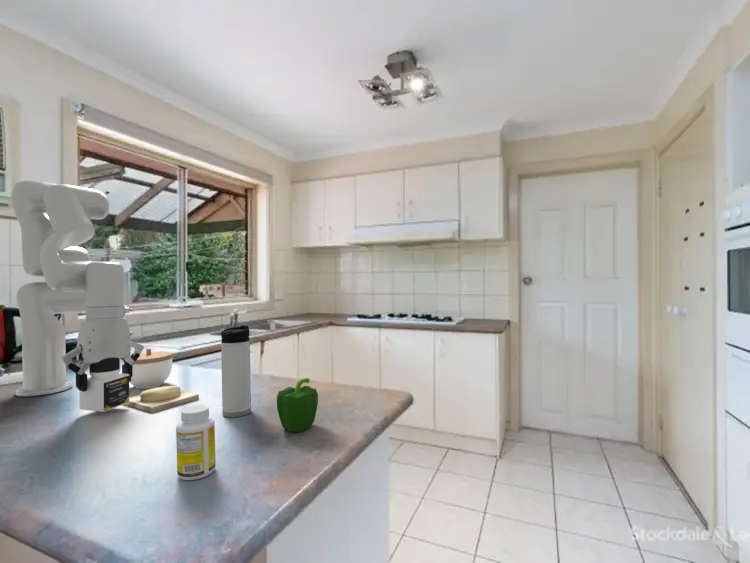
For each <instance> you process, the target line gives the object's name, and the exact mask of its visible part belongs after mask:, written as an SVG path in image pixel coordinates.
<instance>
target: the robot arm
mask: <svg viewBox="0 0 750 563" xmlns="http://www.w3.org/2000/svg"><path fill="white" fill-rule="evenodd" d="M11 205H12V208H13V212H14V214H15V217H16V219H17V221H18V223H19V227H20V232H21V254H22V256H21V259H22V266H23V269H24V272H25V273H26V275H28V276H31V277H37V278H44V281H32V282H28V283H25V284H23V285H21V286H20V287H19V289H18V290H17V292H16V302H17V307H18V310H19V315H20V316H19V318H20V323H21V351H22V353H21V354H22V355H21V356H22V357H21V358H22V361H21V362H22V387H20V388H17V389H16V390H15V395H16V396H17V397H36V396H44V395H49V394H55V393H60V392H63V391H67V390H69V389H71V388H72V387H73V385H74V384H73V383H74V382H72V381H69V380H67V369H68V370H70V371H71V372H73V373H74V374H75V388H77V390H78V391H79V390H80V391H83V392H84V391H87V377H88V373H86V371H87V370H88V369H89V366H90V365H91V364H94V363H97V362H99V361H101V360H103V359H106V358H112V357H116V358H119V359H120V361H122V362H123V364H122V365H121V373H123V374H129V383H130V382H131V377H132V375H133V368H132V365H134V364H135V361H136V360H137V359H138V358H139V357H140V353H143V351H144V348H145V346H144V345H143V344H140V343H138V342H135V341H132V339H131V330H130V327H129V326H130V325H129V322H128V319H127V317H125V315H126V314H128V313H130V312H131V309H130V307H127V306H125V268H124V265H123V264H122V263H120V262H116V261H115V262H114V261H94V260H93V261H92V257H91V255H90V253H89V252H88V250H86V249H85V248H83V247H81V246H79V245H82V244H85V243H86V242H89V240H91V239H93V237H94V235H95V232H96V231H95V227H94V225H93V222H92V220H103V219H105V218H106V217H107V216H108V214H109V211H110V202H109V200H108V197H107V196H106V195H105V193H103V192H102V191H100V190H98V189H94V188H88V187H81V186H76V185H70V184H65V183H62V184H61V183H58V184H56V183H51V182H47V181H39V180H21V181H18V182H16V183H15V184H14V185H13V187H12V190H11ZM81 312H82V313H84V312H85V319H84V320H80V325H79V329H78V333H77V340H76V341H77V342H76V347H75V348H73V349H72V350H70V351H68V352H67V353H66V330H65V328H66V327H65V326H64V325H63V323H62V322H61V321H60V320H59V319H58V318H57V317H56V316H55V315H59V314H71V313H72V314H73V313H74V314H75V313H81ZM132 348H133V349H134V351H133V352H132ZM130 355H131V356H130ZM75 357H76V361H78V363H77V364H75V363H74V362H73V358H75Z"/></svg>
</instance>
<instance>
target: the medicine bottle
mask: <svg viewBox="0 0 750 563" xmlns="http://www.w3.org/2000/svg"><path fill="white" fill-rule="evenodd" d="M88 369H89V376H87V391H84V392H83V391H80V390H78V391H79V394H78V395H79V398H78V399H79V410H83V411H92V412H101V413H105V412H107V411H108V412H109V411H110V410H112V409H115V408H118V407H121V406H123V405H125V404H126V403H128V402H129V397H130V382H129V374H123V373H122V372H121V359H119V358H116V357H112V358H106V359H103V360H101V361H99V362H97V363H94V364H91V365H90V366H89V367H88Z"/></svg>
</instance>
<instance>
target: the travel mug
mask: <svg viewBox="0 0 750 563" xmlns="http://www.w3.org/2000/svg"><path fill="white" fill-rule="evenodd" d="M220 334H221V335H220V337H221V339H220V344H221V347H220V349H221V350H220V351H221V353H220V354H221V357H220V358H221V395H222V396H221V398H222V399H221V404H222V405H221V408H222V411H221V412H222V416H224V417H226V418H239V417H240V418H241V417H244V416H246V415H249V414H250V413H251V412H252V388H251V387H252V386H251V383H252V381H251V377H252V376H251V344H250V342H251V341H250V340H251V339H250V327H249V325H245V324H243V325H240V326H234V327H230V328H226V329H223V330H221V332H220Z"/></svg>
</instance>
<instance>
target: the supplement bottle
mask: <svg viewBox="0 0 750 563" xmlns="http://www.w3.org/2000/svg"><path fill="white" fill-rule="evenodd" d="M209 409H210V407H209V406H208V405H203V404H198V405H196V404H195V405H191V406H187V407H185V408H183V409H182V410H181V413H180V414H181V416H180V419H181V421H180V422H178V423H177V424H176V427H175V428H176V429H175V437H176V438H175V439H176V472H177V476H178V478H179V479H180V480H184V481H195V480H196V481H197V480H200V479H203V478H205V477H207V476H209V475H211V474H212V473H213V472H214V471H215V469H216V463H217V462H216V431H215V426H216V425H215V420H214V418H213V417H211V416H210V410H209Z"/></svg>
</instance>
